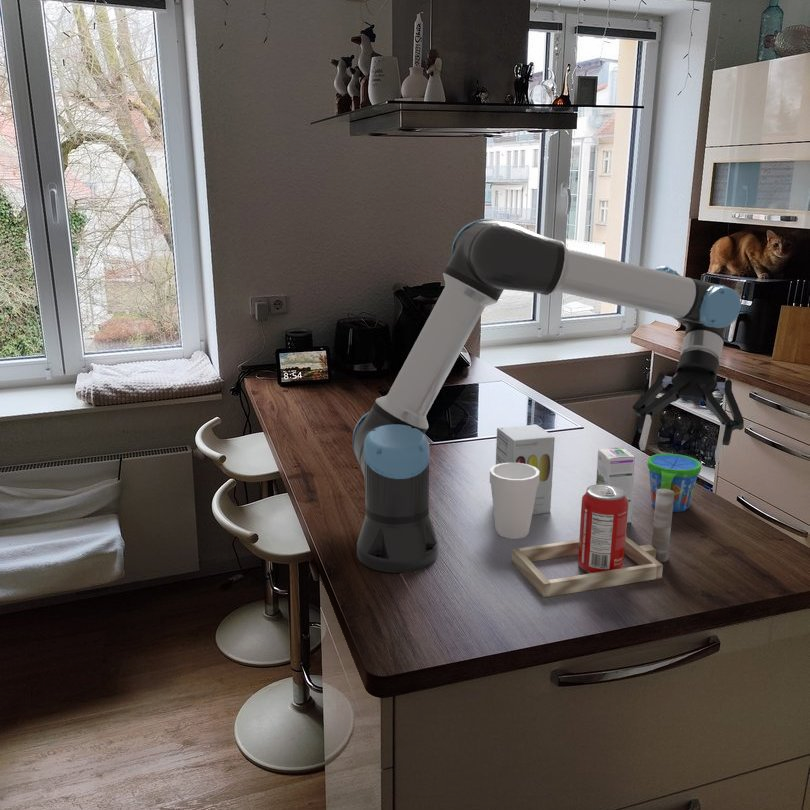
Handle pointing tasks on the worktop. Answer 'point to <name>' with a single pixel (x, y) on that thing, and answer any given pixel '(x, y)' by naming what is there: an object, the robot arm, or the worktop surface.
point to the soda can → (602, 528)
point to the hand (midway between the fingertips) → (678, 453)
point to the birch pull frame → (642, 555)
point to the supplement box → (529, 457)
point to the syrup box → (617, 471)
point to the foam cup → (513, 497)
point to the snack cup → (674, 477)
